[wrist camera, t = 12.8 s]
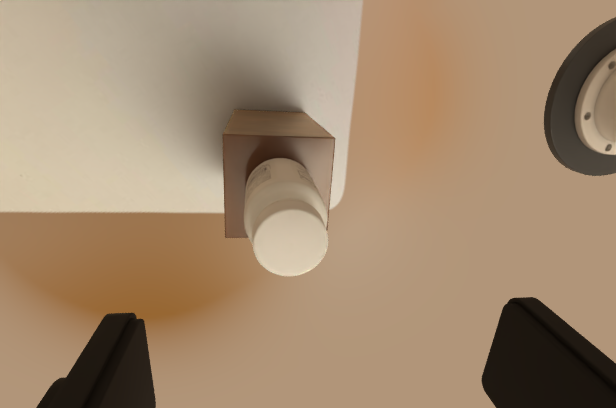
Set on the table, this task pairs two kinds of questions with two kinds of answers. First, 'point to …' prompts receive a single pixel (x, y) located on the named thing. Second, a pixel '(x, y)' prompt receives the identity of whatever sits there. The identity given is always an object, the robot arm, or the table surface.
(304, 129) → the display block
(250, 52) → the table surface
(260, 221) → the pill bottle
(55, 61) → the table surface
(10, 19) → the table surface
